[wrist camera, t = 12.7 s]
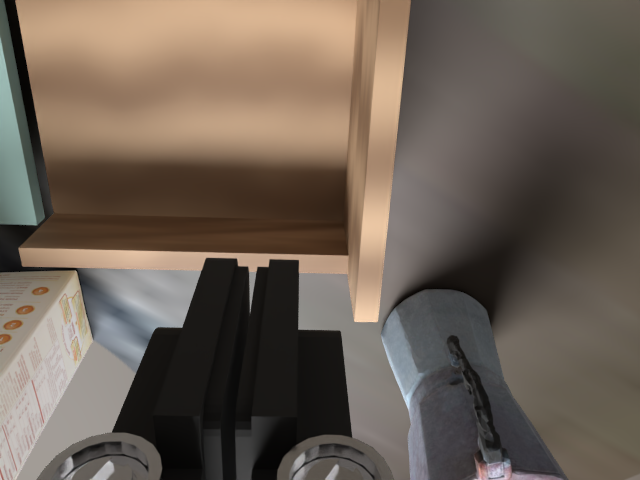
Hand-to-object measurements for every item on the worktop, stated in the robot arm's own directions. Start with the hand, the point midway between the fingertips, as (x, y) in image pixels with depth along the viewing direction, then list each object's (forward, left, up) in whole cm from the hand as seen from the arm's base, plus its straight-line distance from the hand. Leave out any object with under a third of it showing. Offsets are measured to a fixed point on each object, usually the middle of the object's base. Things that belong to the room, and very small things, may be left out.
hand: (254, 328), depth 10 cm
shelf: (0, -5, -29) cm, 30 cm away
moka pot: (+20, +12, -29) cm, 37 cm away
